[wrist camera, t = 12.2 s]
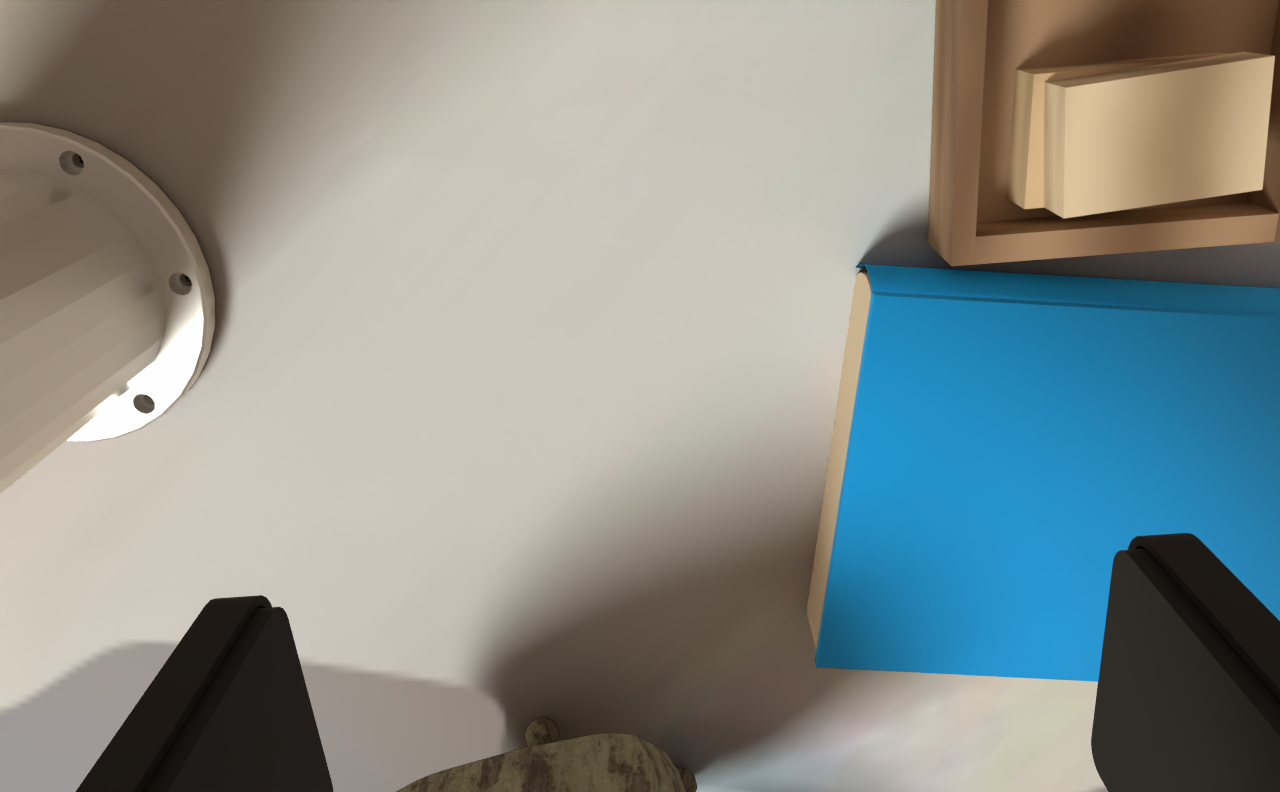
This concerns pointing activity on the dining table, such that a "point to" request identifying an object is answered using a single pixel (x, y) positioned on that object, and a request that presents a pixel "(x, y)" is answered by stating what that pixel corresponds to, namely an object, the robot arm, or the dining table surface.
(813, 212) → the dining table surface
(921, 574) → the book
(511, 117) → the dining table surface
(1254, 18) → the tray
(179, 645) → the robot arm
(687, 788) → the tabletop clock
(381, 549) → the dining table surface
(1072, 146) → the offcut top
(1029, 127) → the offcut low
